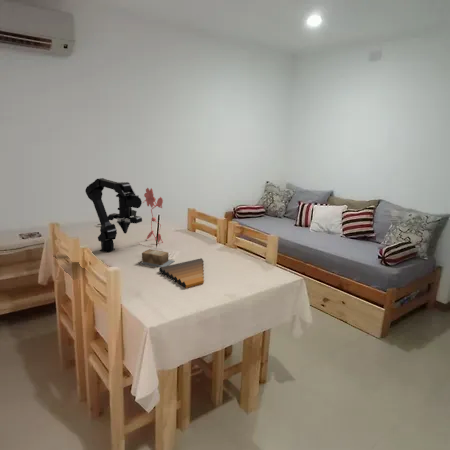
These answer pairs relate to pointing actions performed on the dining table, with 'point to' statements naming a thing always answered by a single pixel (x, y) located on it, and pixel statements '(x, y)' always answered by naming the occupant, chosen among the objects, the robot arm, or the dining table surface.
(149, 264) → the felt mat
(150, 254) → the walnut block
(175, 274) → the pan flute
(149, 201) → the red flower sculpture
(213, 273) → the dining table surface
